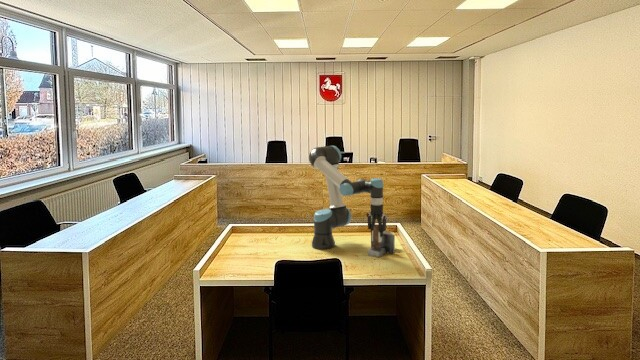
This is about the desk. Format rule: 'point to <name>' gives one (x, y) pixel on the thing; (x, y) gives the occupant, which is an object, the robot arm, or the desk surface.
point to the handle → (376, 236)
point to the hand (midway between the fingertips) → (376, 241)
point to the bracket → (383, 246)
